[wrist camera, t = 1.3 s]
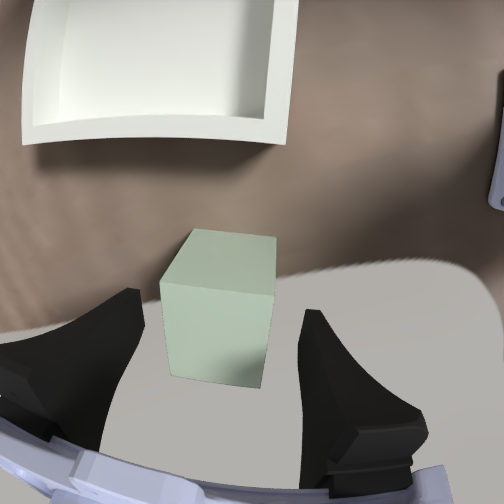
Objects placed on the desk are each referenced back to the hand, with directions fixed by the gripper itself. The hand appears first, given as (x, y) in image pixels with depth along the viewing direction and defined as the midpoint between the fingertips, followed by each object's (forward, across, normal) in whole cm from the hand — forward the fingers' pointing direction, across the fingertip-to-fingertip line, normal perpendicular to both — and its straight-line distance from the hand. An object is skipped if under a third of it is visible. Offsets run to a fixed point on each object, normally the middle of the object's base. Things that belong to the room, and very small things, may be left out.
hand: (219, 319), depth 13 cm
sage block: (+3, 0, 0) cm, 4 cm away
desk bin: (+3, +4, -14) cm, 15 cm away
